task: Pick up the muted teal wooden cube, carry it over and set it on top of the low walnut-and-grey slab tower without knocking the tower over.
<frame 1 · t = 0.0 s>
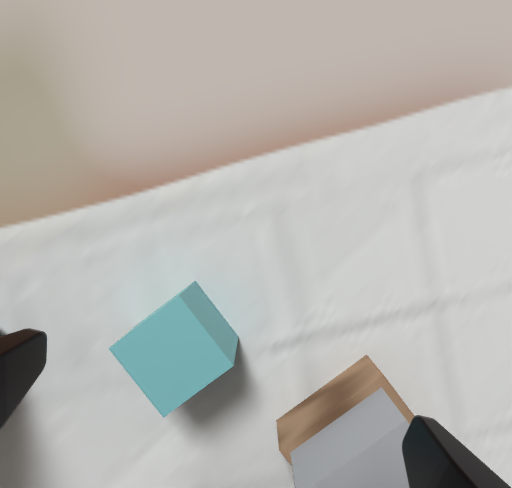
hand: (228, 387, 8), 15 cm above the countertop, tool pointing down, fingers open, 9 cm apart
tower top: (368, 463, 21), point 3 cm above the countertop, touching tower base
teal cube: (189, 329, 24), on the countertop
tower base: (353, 428, 24), on the countertop, touching tower top
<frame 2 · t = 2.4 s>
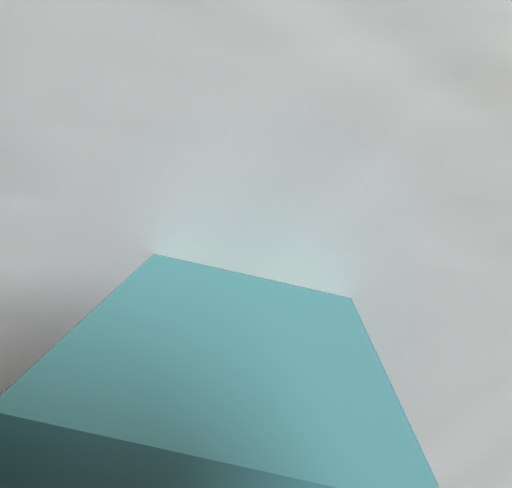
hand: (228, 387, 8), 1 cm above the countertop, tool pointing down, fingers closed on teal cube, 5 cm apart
teal cube: (233, 359, 9), on the countertop, touching gripper
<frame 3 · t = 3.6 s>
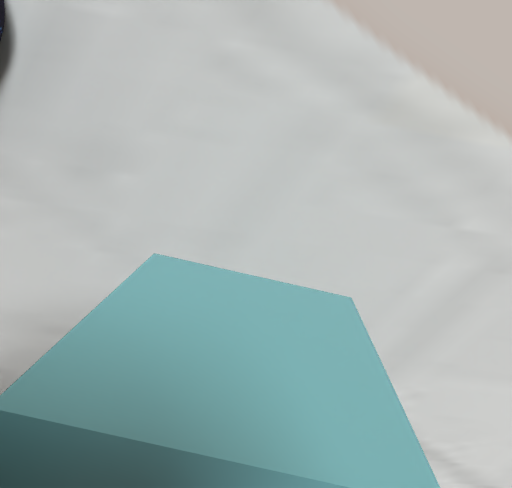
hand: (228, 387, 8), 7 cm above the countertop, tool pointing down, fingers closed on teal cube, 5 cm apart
teal cube: (233, 358, 9), point 6 cm above the countertop, touching gripper
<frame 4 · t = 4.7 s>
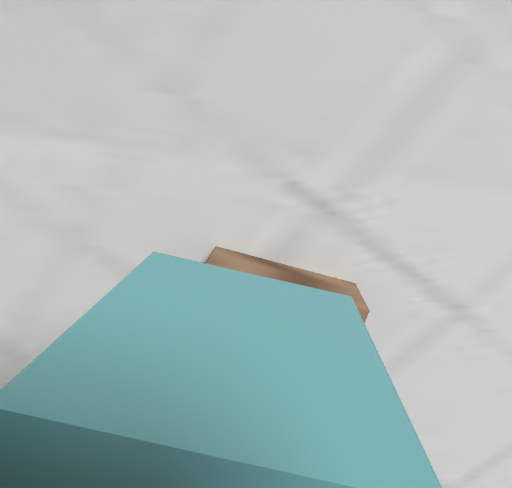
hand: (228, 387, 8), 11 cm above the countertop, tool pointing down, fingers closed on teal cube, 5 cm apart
teal cube: (233, 357, 9), point 10 cm above the countertop, touching gripper
tower base: (267, 322, 20), on the countertop
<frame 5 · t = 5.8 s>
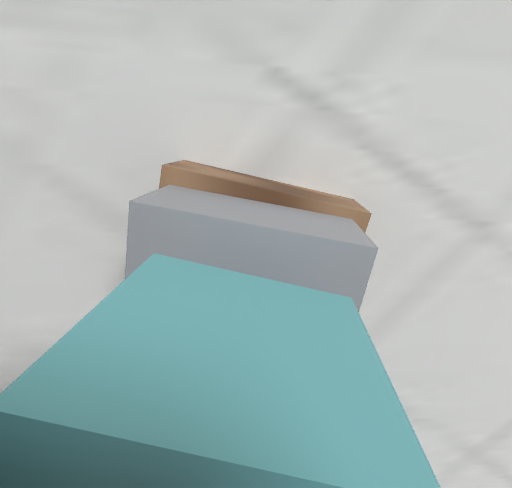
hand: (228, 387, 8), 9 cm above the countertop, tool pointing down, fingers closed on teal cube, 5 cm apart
tower top: (245, 285, 14), point 3 cm above the countertop, touching tower base
teal cube: (233, 359, 9), point 8 cm above the countertop, touching gripper
tower base: (251, 256, 17), on the countertop, touching tower top
when the fingers open (9 cm above the countertop, at t = 5.8 s): teal cube drops 1 cm, point 7 cm above the countertop.
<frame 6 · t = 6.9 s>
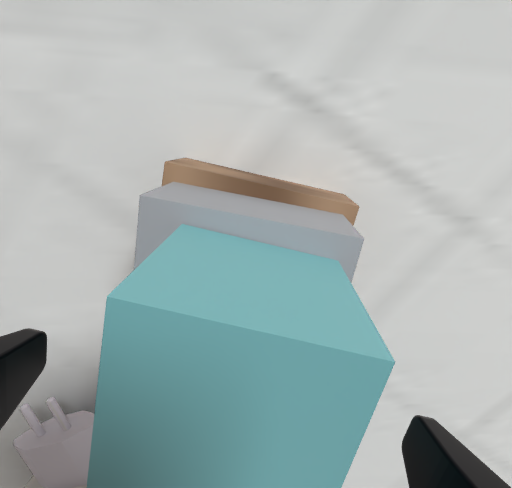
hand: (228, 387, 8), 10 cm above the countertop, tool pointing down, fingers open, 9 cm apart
tower top: (243, 276, 15), point 3 cm above the countertop, touching tower base
teal cube: (243, 311, 11), point 7 cm above the countertop
charger: (115, 458, 23), on the countertop
tower base: (248, 249, 18), on the countertop, touching tower top
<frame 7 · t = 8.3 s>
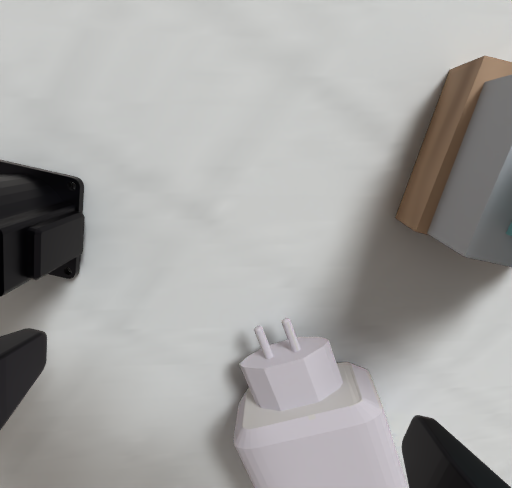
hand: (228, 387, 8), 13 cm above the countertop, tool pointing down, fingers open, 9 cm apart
charger: (306, 391, 24), on the countertop
tower base: (486, 165, 19), on the countertop, touching tower top
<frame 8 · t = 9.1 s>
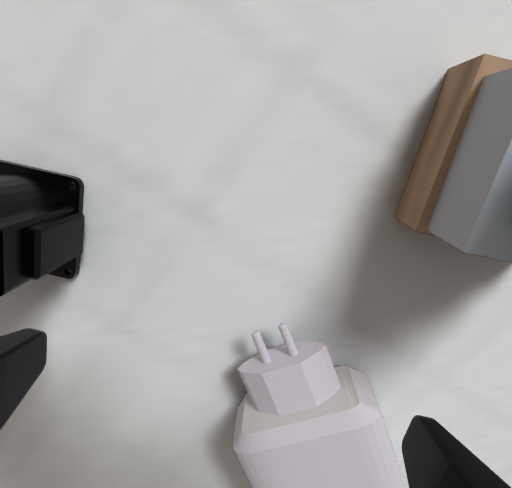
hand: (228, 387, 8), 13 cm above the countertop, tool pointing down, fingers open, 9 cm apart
charger: (304, 395, 24), on the countertop
tower base: (485, 164, 19), on the countertop, touching tower top
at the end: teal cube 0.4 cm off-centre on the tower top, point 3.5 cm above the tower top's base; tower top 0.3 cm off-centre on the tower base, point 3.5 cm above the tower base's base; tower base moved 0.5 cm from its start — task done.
